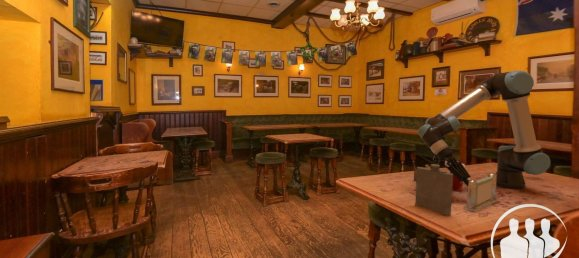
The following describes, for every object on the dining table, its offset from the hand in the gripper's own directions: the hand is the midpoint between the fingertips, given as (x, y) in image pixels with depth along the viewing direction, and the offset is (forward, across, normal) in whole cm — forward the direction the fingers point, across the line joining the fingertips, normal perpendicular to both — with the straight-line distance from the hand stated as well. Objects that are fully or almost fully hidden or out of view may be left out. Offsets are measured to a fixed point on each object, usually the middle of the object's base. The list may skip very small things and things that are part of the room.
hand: (475, 191), depth 137 cm
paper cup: (-7, -17, -16) cm, 24 cm away
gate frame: (+6, -1, -3) cm, 6 cm away
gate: (+5, 0, -1) cm, 5 cm away
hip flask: (-1, +24, -10) cm, 26 cm away
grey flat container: (-21, -19, -31) cm, 42 cm away
